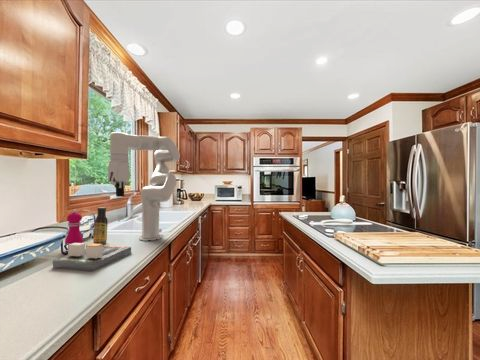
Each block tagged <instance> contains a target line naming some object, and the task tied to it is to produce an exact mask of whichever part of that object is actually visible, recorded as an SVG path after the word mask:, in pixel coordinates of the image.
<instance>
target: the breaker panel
mask: <svg viewBox="0 0 480 360" xmlns="http://www.w3.org/2000/svg"><path fill="white" fill-rule="evenodd" d="M131 254H132V246H121V245H120V246H119V245H110V244H103V252H102V256H101V257H99V258H86V248H85V254H84V255H81V256H68V254H67V255H64V256H61V257H59V258H55V259H53V260H52V268H53V269H59V270H60V269H61V270H69V271H70V270H72V271H83V272H93V273H94V272H95V271H96V270H99V269H102V268H103V267H105V266H107V265H109V264H112V263H113V262H116V261H118V260H120V259H122V258H124V257H127V256H128V255H131Z"/></svg>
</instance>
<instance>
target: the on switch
mask: <svg viewBox="0 0 480 360" xmlns="http://www.w3.org/2000/svg"><path fill="white" fill-rule="evenodd" d="M85 249H86V243H85V242H84V243H83V242H82V243H72V244H69V245H68V252H67V255H68V256H81V255H84V254H85Z"/></svg>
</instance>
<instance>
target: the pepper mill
mask: <svg viewBox="0 0 480 360" xmlns="http://www.w3.org/2000/svg"><path fill="white" fill-rule="evenodd" d="M82 219H83V216H82V214H81V213H80V212H78V211H77V209H72V212H71V213H69V214H68V215H67V216H66V221H67V222H68V223H67V226H68V228H69V229H68V232H67V235H66V237H65V240H64V244H65V245H66V244H67V243H70V244H72V243H83V242H84V238H83V235H82V233H81V231H80V230H81V229H80V225H81V221H82Z"/></svg>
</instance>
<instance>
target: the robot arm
mask: <svg viewBox="0 0 480 360" xmlns="http://www.w3.org/2000/svg"><path fill="white" fill-rule="evenodd" d="M109 141H110V142H109V143H110V144H109V145H110V147H109V148H110V150H109V151H110V152H109V153H110V154H109V155H110V160H109V162H108V166H107V181H108V182H109V183H110V185H113V186H114V188H115V196H116V197H124V196H125V188H126V185H128V184H129V181H130V179H131V172H130V171H131V170H130V163H129V151H130V150H131V151H155V152H154V156H153V157H154V162H155V169H154V172H153V173H152V175H151V176H150V179H149V184H150V185H147V186H144V187H142V188H141V190H140V200H141V211H142V212H141V213H142V214H141V235H139V237H138V239H139V240H140V241H142V242H143V241H145V242H148V240H151V241H156V239H157V240H160V239H162V234H160V233H161V232H162V231H163V230H162V228H160V207H159V205H158V203H166V202H169V200H171V197H172V194H173V192H174V190H175V187H176V184H177V178H176V175H175V174H174V173H172V172H170V169H169V166H167V164H166V163H177V162H179V161H180V159H181V153H180V151H179V149H178V146H177V145H176V143H175V142H174V141H173V139H172V138H171V137H170V136H150V135H137V134H129V133H125V132H122V131H121V132H120V131H114V132H111V133H110V134H109Z"/></svg>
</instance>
